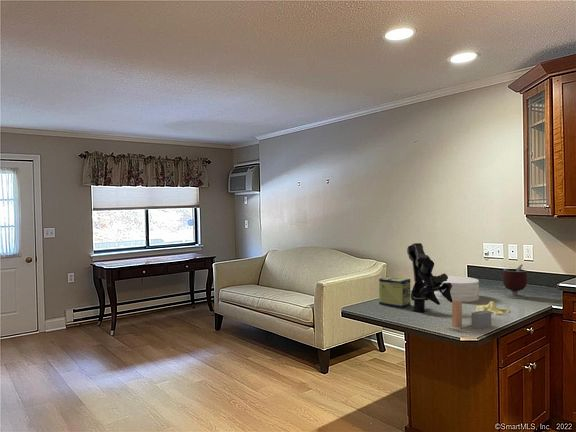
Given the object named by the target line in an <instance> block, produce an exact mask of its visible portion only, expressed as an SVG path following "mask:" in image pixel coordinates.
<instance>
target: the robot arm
mask: <svg viewBox="0 0 576 432" xmlns="http://www.w3.org/2000/svg"><path fill="white" fill-rule="evenodd" d="M406 253H407V255H408V259H409V260H410V261H411V262H412V264H411V265H412V271H413V278H414V284H413V286H412V289H411V292H410V296H411V297H410V300H411V301H413V309H412V310H411V311H413V312H416V313H417V312H418V313H425V312H427V308H426V306H425V305H426V301H431V302H433V303H435V304H436V305H438V306H439V305H440V304H441V303H440V300H439V299H437V297H436V296H435V294H434V291H440V292H441V293H442V295H443V296H444V297H445V298H446V299H447V300H448V301H447V302H449V303H451V304H452V297H451V294H450V289H451V288H452V284H451V283H444V284H443V285H442V286H440V285H441V284H442V282H444V281H447V279H448V276H449V275H447V274H446V272H445V273H441V274H439V275H434V274H433V273H432V272H433V269H434V267H435V263H434V261H433V260H432V259H431V258H430V256H429V255H427V254H426V252H425V251H424V246H423V244H422V243H420V242H414V243H412V244H411V245H409V246H407V249H406Z"/></svg>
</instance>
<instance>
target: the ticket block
mask: <svg viewBox="0 0 576 432" xmlns="http://www.w3.org/2000/svg"><path fill="white" fill-rule="evenodd" d="M491 326H492V313H491V312H489V311H486V310H484V311H480V310H478V311H476V312H471V323H469V324H466V325H462V326H460V327H457V329H458V330H460V329H465V328H469V327H471V328H472V329H473V328H474V329H476V330H480V329H484V328H487V327H491Z"/></svg>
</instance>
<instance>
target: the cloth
mask: <svg viewBox="0 0 576 432" xmlns="http://www.w3.org/2000/svg"><path fill="white" fill-rule="evenodd" d="M475 308H476V309H475V311H476V312H479V311H484V310H486V311H489V312H491V314H493V315H496V316H506V314H507V313H510V310H509V309H508V308H505V307H497V304H496V301H493V300H491V301H489V302H488V304H487V303H486V304H482V305H477V306H476V307H475ZM505 313H506V314H505Z"/></svg>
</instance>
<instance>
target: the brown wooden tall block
mask: <svg viewBox="0 0 576 432" xmlns="http://www.w3.org/2000/svg"><path fill="white" fill-rule="evenodd" d="M451 306H452V308H451V321H452V322H451V326H452V327H453V328H458V327H460V326H463V302H462V301H452V303H451Z"/></svg>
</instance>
